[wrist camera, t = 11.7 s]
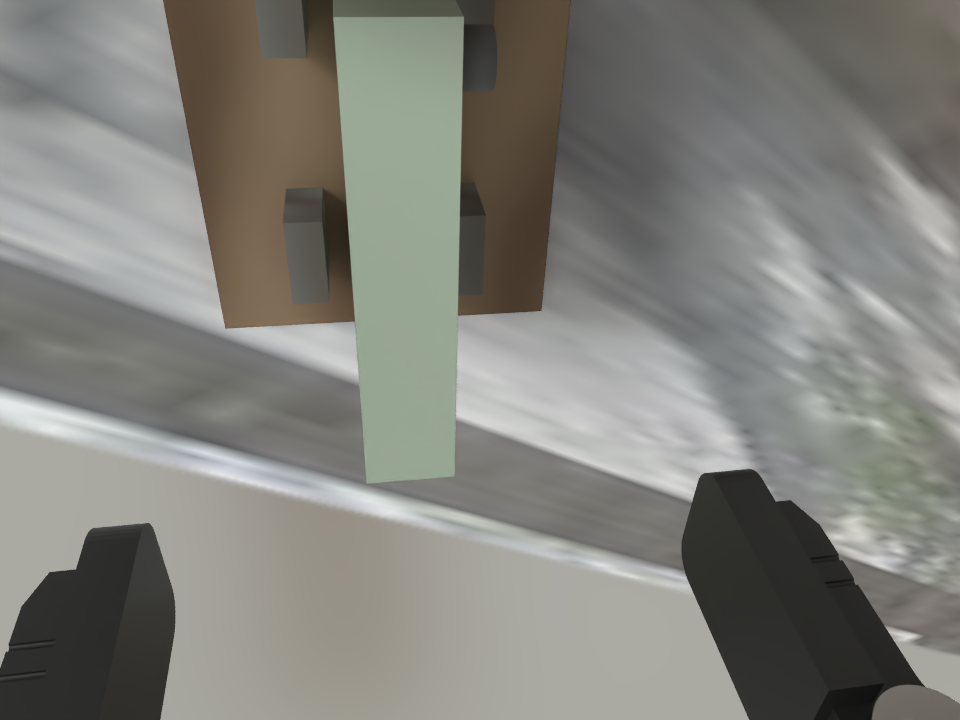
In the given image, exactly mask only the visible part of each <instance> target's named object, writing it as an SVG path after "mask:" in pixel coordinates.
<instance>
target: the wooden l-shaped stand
mask: <svg viewBox="0 0 960 720" xmlns="http://www.w3.org/2000/svg"><path fill="white" fill-rule="evenodd" d="M163 2H164V7H165V13H166V18H167V23H168V28H169V34H170V39H171V44H172V49H173V55H174V60H175V65H176V70H177V76H178V81H179V86H180V92H181V97H182V102H183V107H184V113H185V118H186V123H187V128H188V134H189V139H190V144H191V149H192V155H193V160H194V165H195V171H196V176H197V181H198V186H199V192H200V197H201V202H202V207H203V213H204V218H205V223H206V229H207V234H208V239H209V244H210V250H211V255H212V260H213V265H214V271H215V276H216V281H217V286H218V292H219V297H220V302H221V308H222V313H223V318H224V323H225V328H243V327H261V326H279V325H297V324H315V323H333V322H351V321H355V314H354V300H353V286H352V272H351V258H350V244H349V230H348V216H347V202H346V188H345V174H344V160H343V146H342V132H341V118H340V104H339V90H338V76H337V62H336V48H335V34H334V20H333V0H163ZM456 2H457V4H458V6H459V8H460V10H461V12H462V14H463V16H464V24H492V25H493V26H494V28H495V33H496V40H497V77H496V84H495V88H494V90H493V91H473V92H462V134H461V182H460V231H459V279H458V316H460V315H478V314H496V313H514V312H532V311H541V309H542V298H543V288H544V277H545V266H546V256H547V245H548V235H549V224H550V214H551V203H552V192H553V182H554V171H555V161H556V150H557V140H558V129H559V118H560V108H561V97H562V87H563V76H564V66H565V55H566V44H567V34H568V23H569V13H570V2H571V0H456Z"/></svg>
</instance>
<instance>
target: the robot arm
mask: <svg viewBox="0 0 960 720" xmlns="http://www.w3.org/2000/svg"><path fill="white" fill-rule="evenodd" d="M838 555H839V554H838V553H837V551H836V550H835V548H834V546H833V545H832V543H831V542H830V540H829V539H828V537H827V536H826V534H825V532H824V531H823V529H822V528H821V526H820V525H819V524H818V523H817V522H816V521H814V520H813V519H812V518H811V517H810V516H809V515H807V514H806V513H805V512H804V511H803V510H801V509H800V508H799V507H798V506H797V505H795V504H794V503H793V502H792V501H791V500H789V501H779V502H776V501H775V500H774V498H773V496H772V495H771V493H770V491H769V490H768V488H767V486H766V485H765V483H764V481H763V480H762V478H761V477H760V475H759V474H758V473H757V472H756V471H754V470H752V469H745V470H734V471H724V472H713V473H704V474H702V475H701V477H700V478H699V481H698V484H697V487H696V491H695V494H694V498H693V502H692V505H691V509H690V512H689V516H688V519H687V523H686V527H685V530H684V534H683V538H682V560H683V566H684V570H685V573H686V576H687V579H688V581H689V584H690V586H691V588H692V591H693V593H694V595H695V597H696V600H697V602H698V604H699V606H700V609H701V611H702V613H703V616H704V618H705V620H706V622H707V624H708V627H709V629H710V631H711V634H712V636H713V638H714V640H715V643H716V645H717V647H718V650H719V652H720V654H721V656H722V659H723V661H724V663H725V665H726V668H727V670H728V672H729V674H730V677H731V679H732V681H733V683H734V686H735V688H736V691H737V693H738V695H739V697H740V699H741V702H742V704H743V706H744V709H745V711H746V713H747V716H748V718H749V720H960V704H959V703H957V702H956V701H955V700H953V699H951V698H950V697H948V696H946V695H944V694H942V693H940V692H938V691H935V690H933V689H930V688H926V687H925V686H924V685H923V684H922V683H921V681H920V680H919V679H918V677H917V676H916V675H915V673H914V671H913V670H912V668H911V667H910V665H909V664H908V662H907V661H906V659H905V658H904V656H903V654H902V653H901V651H900V650H899V648H898V647H897V645H896V643H895V642H894V640H893V639H892V637H891V636H890V634H889V632H888V631H887V629H886V628H885V626H884V625H883V623H882V621H881V620H880V618H879V617H878V615H877V614H876V612H875V611H874V609H873V607H872V606H871V604H870V603H869V601H868V600H867V598H866V596H865V595H864V593H863V592H862V590H861V589H860V587H859V586H858V585H855V583H854V578H853V576H852V575H851V573H850V571H849V570H848V568H847V567H846V565H845V564H844V562H843V561H842V560H841V561H840V560H839V557H838ZM174 632H175V600H174V594H173V590H172V586H171V583H170V580H169V576H168V573H167V570H166V567H165V564H164V561H163V557H162V554H161V551H160V548H159V545H158V542H157V539H156V535H155V532H154V529H153V527H152V526H151V525H150V524H149V523H145V524H134V525H123V526H112V527H102V528H93V529H91V530H90V531H89V532H88V534H87V536H86V538H85V541H84V545H83V548H82V552H81V555H80V558H79V562H78V565H77V569H76V570H67V571H58V572H49V574H48V575H47V576H46V577H45V579H44V580H43V581H42V582H41V583H40V585H39V586H38V587H37V589H36V590H35V591H34V592H33V593H32V594H31V596H30V597H29V598H28V600H27V601H26V602H25V603H24V604H23V606H22V607H21V610H20V613H19V616H18V619H17V621H16V624H15V627H14V630H13V633H12V636H11V639H10V642H9V651H8V652H6V653H5V657H4V659H3V662H2V665H1V668H0V720H160V718H161V712H162V705H163V700H164V694H165V688H166V681H167V675H168V669H169V663H170V657H171V651H172V645H173V639H174Z"/></svg>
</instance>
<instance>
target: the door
mask: <svg viewBox="0 0 960 720" xmlns="http://www.w3.org/2000/svg"><path fill="white" fill-rule="evenodd" d="M333 20H334V34H335V48H336V62H337V76H338V90H339V104H340V118H341V132H342V146H343V160H344V174H345V188H346V202H347V216H348V230H349V244H350V258H351V272H352V286H353V300H354V314H355V328H356V342H357V356H358V370H359V384H360V398H361V412H362V426H363V440H364V454H365V468H366V482H367V484H368V483H380V482H392V481H404V480H416V479H428V478H440V477H452V476H454V473H455V424H456V376H457V328H458V279H459V231H460V182H461V134H462V92H473V91H493V90H494V88H495V84H496V77H497V40H496V33H495V28H494V26H493V25H492V24H464V16H463V14H462V12H461V10H460V8H459V6H458V4H457V2H456V0H333Z"/></svg>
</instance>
